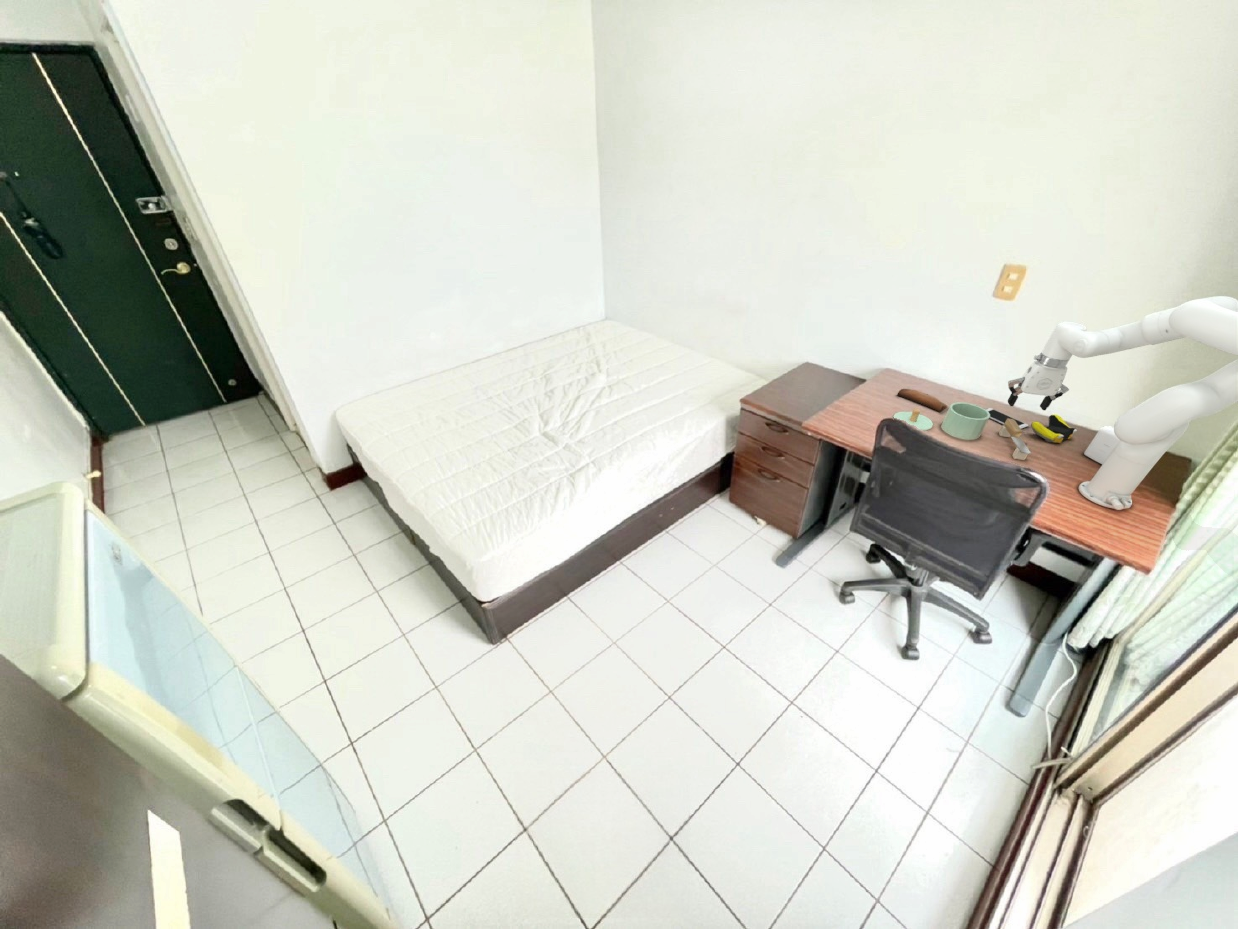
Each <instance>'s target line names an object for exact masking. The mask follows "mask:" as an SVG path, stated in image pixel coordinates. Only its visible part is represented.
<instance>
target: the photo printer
mask: <svg viewBox="0 0 1238 929" xmlns="http://www.w3.org/2000/svg"><path fill="white" fill-rule="evenodd" d="M1119 441H1120V439H1119V438H1118V437H1117V436H1116V435H1115V432H1114V426H1111V425H1104V426H1102V427H1101V428H1100V429H1098V431H1097V433H1096V434H1095V436H1094V437H1093V438H1092V440H1091V441H1090V443H1089V445H1088V446H1087V448H1086V449H1085V450H1084V452H1083V455H1084V456H1086V457H1088V458H1090V459H1091V460H1093V461H1095V462H1097V463H1098V464H1100V465H1102V464H1103V463H1104V462H1105V460H1106V459H1107V457H1108V456H1109V455H1110V453H1111V452H1112V451H1113V449H1114V448H1115V447H1116V445H1117V444H1118V443H1119Z"/></svg>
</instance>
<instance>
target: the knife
mask: <svg viewBox="0 0 1238 929" xmlns="http://www.w3.org/2000/svg"><path fill="white" fill-rule="evenodd" d="M1014 419H1015V418H1014ZM1014 419H1008V418H1007V420H1006V422H1005V423H1004V425H1003V426H1005V428H1006V429H1007V431H1008V432H1009V434H1010V435H1011V436H1010V438H1011V440H1012V441H1013V443H1014V444H1015V446H1016V448H1017V447H1018V449H1019V450H1020V452H1021V453H1026V454H1028V455H1031V454H1032V453H1031V450H1030V449H1029V448H1028V447H1027V445H1026V443H1025V442H1024V440H1023V439H1022V437H1021V436H1022V434H1023V433H1024V431H1023V429H1021V428H1020V427H1019V426H1018V424H1017V423H1016V421H1015V420H1014Z"/></svg>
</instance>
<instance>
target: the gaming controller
mask: <svg viewBox="0 0 1238 929" xmlns="http://www.w3.org/2000/svg"><path fill="white" fill-rule="evenodd" d="M1030 428H1031V430H1032V432H1034V434H1035V435H1037V436H1038V437H1041V438H1042V439H1044V441H1045V442H1047V443H1056V444H1057V443H1058V444H1061V443H1062V442H1065V441H1066V440H1070V439H1071V438H1072V436H1073V435H1074V433H1075V432H1077V431H1078V430H1077V429H1076V427H1071V426H1069V425H1068V424H1067V422H1066V421H1065V420H1064V419H1063V418H1062V417H1061V416H1060V415H1059V414H1050V415H1049V416H1048V426H1044V425H1043V424H1042V423H1041V422H1039V421H1032V422H1031V424H1030Z"/></svg>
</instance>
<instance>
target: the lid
mask: <svg viewBox="0 0 1238 929" xmlns="http://www.w3.org/2000/svg"><path fill="white" fill-rule="evenodd" d="M920 413H921V409H919V408H913V410H912V411H899V412H895V413H894V415H893V416H892V418H893V417H894V418H897V419H900V420H904V421H906V422H907V423H908V424H910V425H914V426H916V427H917V428H918V429H920V430H923V431H922V432H925V431H929V430H931V429H932V428H933V426H934V423H933V421H932V420H931V419H930V418H929V417H927V416H926V415H923V414H920Z"/></svg>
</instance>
